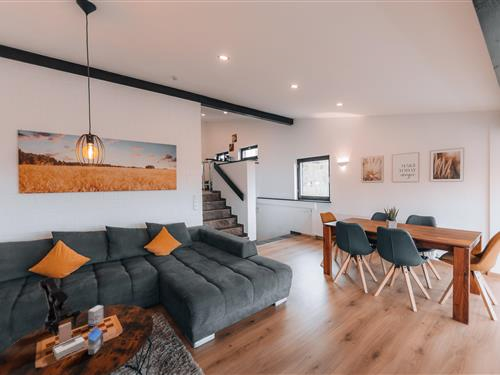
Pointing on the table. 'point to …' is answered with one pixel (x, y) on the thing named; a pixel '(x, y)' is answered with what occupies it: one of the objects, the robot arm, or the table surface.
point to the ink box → (95, 315)
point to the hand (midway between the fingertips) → (65, 332)
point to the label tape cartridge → (95, 341)
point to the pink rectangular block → (65, 332)
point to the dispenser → (68, 346)
